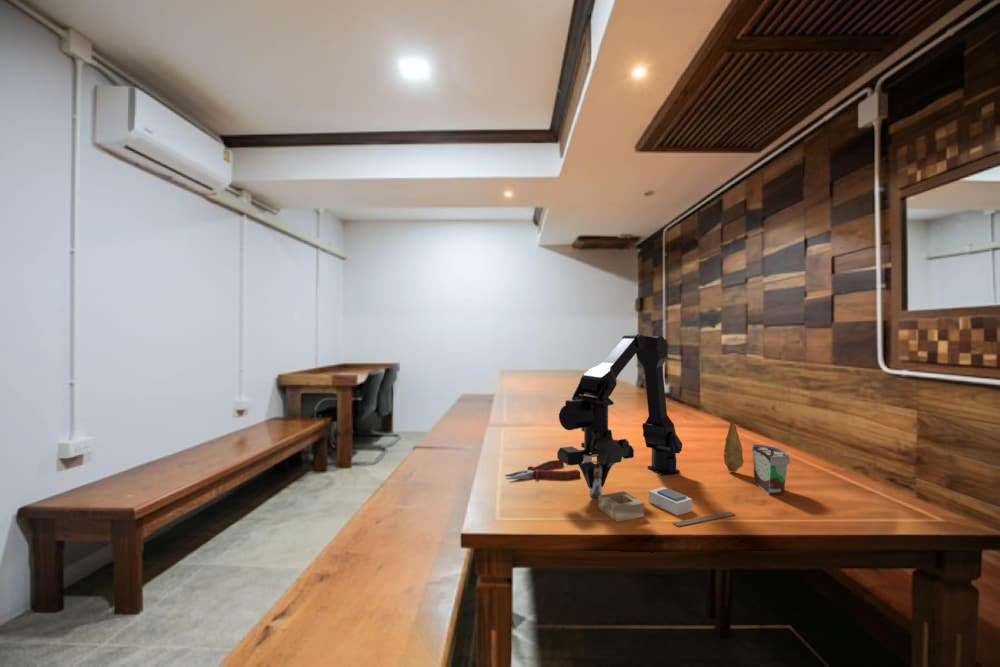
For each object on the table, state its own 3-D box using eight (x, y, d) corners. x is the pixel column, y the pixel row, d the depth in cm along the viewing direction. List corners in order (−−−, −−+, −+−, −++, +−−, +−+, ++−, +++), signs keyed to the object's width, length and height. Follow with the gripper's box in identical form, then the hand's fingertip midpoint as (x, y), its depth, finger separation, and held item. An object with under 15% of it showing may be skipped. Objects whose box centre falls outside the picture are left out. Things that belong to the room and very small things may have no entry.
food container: (799, 499, 100) (800, 458, 100) (771, 497, 101) (772, 457, 101) (776, 481, 112) (777, 444, 112) (751, 479, 114) (752, 443, 113)
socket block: (598, 508, 95) (598, 495, 95) (624, 504, 97) (624, 491, 97) (617, 521, 88) (617, 507, 88) (644, 516, 91) (644, 503, 91)
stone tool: (738, 470, 121) (738, 419, 121) (744, 473, 119) (744, 421, 118) (722, 471, 120) (722, 419, 120) (727, 474, 118) (728, 421, 118)
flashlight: (586, 493, 103) (586, 462, 103) (597, 492, 104) (597, 460, 104) (593, 498, 100) (593, 466, 100) (604, 497, 101) (605, 464, 101)
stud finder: (648, 503, 99) (648, 488, 98) (663, 499, 101) (663, 485, 101) (677, 516, 91) (677, 501, 91) (691, 512, 94) (692, 496, 94)
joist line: (672, 523, 87) (672, 522, 87) (729, 512, 93) (729, 511, 93) (678, 526, 86) (678, 525, 86) (734, 515, 92) (734, 514, 92)
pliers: (499, 474, 118) (499, 465, 118) (561, 466, 125) (561, 458, 125) (515, 489, 107) (515, 479, 107) (582, 479, 115) (582, 470, 115)
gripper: (580, 435, 91) (580, 505, 91) (649, 428, 98) (648, 494, 98) (556, 424, 102) (556, 487, 102) (620, 419, 108) (619, 478, 108)
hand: (595, 487), depth 102 cm, fingers closed on flashlight, 3 cm apart
